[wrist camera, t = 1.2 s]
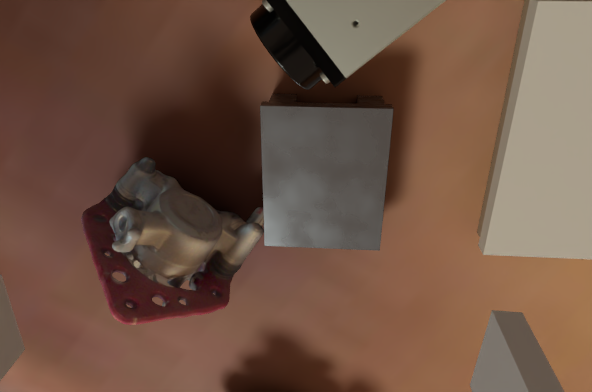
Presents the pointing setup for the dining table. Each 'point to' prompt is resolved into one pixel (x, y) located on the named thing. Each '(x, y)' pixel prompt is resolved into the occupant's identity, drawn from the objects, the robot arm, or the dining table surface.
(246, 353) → the dining table surface
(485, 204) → the stand cream
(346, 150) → the stand slate
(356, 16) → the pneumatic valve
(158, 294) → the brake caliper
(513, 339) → the robot arm
